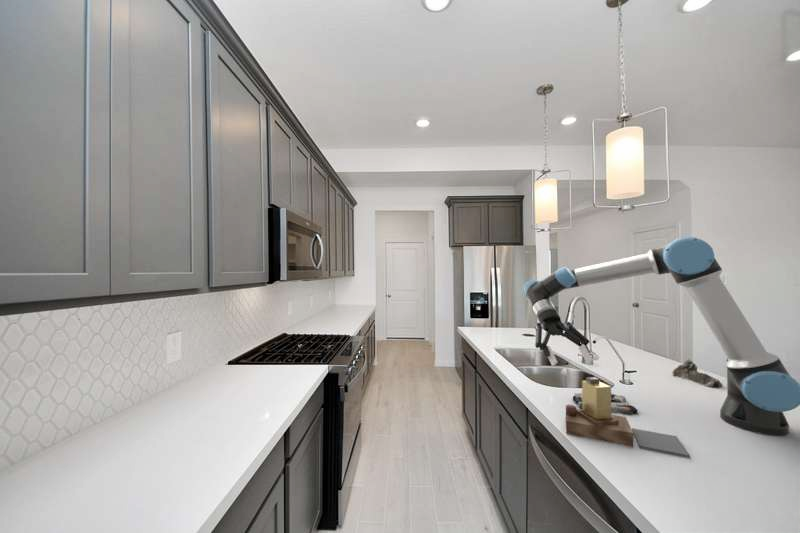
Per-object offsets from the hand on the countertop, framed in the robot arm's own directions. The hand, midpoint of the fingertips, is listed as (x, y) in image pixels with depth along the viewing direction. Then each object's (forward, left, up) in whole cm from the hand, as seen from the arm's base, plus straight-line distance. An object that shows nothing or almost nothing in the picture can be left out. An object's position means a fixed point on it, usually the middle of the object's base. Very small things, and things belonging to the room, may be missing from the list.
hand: (573, 363), depth 111 cm
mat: (-22, +8, -18) cm, 29 cm away
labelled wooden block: (-6, +8, -14) cm, 18 cm away
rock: (-52, -65, -19) cm, 85 cm away
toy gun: (-10, -16, -19) cm, 27 cm away
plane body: (-6, +8, -18) cm, 21 cm away
